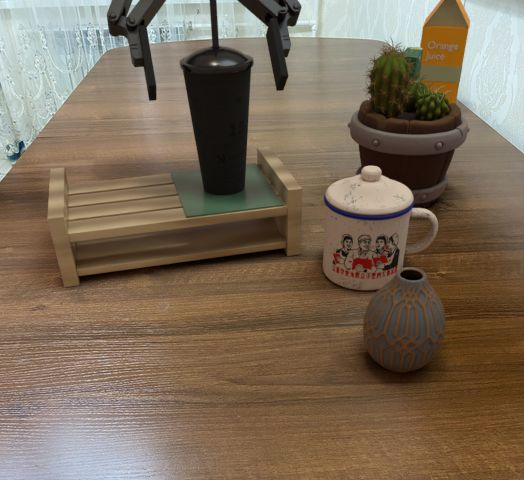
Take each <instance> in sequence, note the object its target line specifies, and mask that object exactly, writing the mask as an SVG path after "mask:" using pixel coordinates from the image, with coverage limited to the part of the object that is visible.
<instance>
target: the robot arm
mask: <svg viewBox="0 0 524 480" xmlns="http://www.w3.org/2000/svg"><path fill="white" fill-rule="evenodd" d="M133 1H134V0H111V2H110V5H109V7H108V10H107V12H106V21H107V31H108V34H109V35H110V36H111V37H115V38H116V37H119V36H122V37H124V38H126V40H127V43H128V49H129V55H130V61H131V64H132V66H133V67H134V68H143V72H144V77H145V85H146V89H147V96H148V101H149V102H151V101H153V102H154V101H157V99H158V98H157V97H158V95H157V81H156V75H155V70H154V63H153V58H152V57H153V56H152V50H151V46H150V39H149V34H148V27H149V25H150V23H151V22H152V21H153V20H154V18H155V16H156V15H157V14H158V13H159V12H160V10H161V8H162V7H163V6H164V4H165V3H166V1H167V0H138V1H137V2H136V4H135V6H134V7H133V8H132V9H131V6H132V3H133ZM237 1H238V3H240V4H241V5H242V7H244V8H245V9H247V10H248V11H249V12H250V13H251V14H252V15H254V16H255V18H256V19H258V20H259V21H260V22H261V23H262V24H264V25H265V26H266V27H267V30H266V32H265V39H266V44H267V48H268V49H267V50H268V53H269V60H270V64H271V69H272V75H273V79H274V86H275V89H276V92H278V91H279V92H281V91H284V90H285V87H286V84H287V81H288V79H289V77H290V75H289V71H288V66H287V60H286V58H288V57H289V54H290V51H291V47H292V42H291V37H290V33H289V27H290V28H293V27H295V26H297V23H298V20H299V17H300V14H301V10H302V4H301V3H300V1H299V0H237ZM130 9H131V11H130ZM129 11H130V12H129Z"/></svg>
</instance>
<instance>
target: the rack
mask: <svg viewBox="0 0 524 480" xmlns="http://www.w3.org/2000/svg"><path fill="white" fill-rule="evenodd" d="M67 178H68V177H67V173H66V168H65V167H56V168H50V169H49V184H48V185H49V187H48V202H47V216H46V217H47V218H46V219H47V223H48V228H49V231H50V235H51V241H52V244H53V247H54V248H53V249H54V252H55V256H56V259H57V264H58V267H59V270H60V276H61V279H62V282H63V287H64V288H69V287H75V286H80V277H82V276H89V275H98V274H104V273H105V274H106V273H112V272H113V273H114V272H120V271H128V270H134V269H140V268H141V269H142V268H149V267H156V266H163V265H170V264H177V263H178V264H179V263H185V262H192V261H193V262H194V261H200V260H208V259H214V258H221V257H229V256H236V255H243V254H250V253H258V252H265V251H273V250H280V249H283V251H284V253H285V254H286V256H287V257H291V256H297V255H298V256H299V255H301V253H302V215H303V214H302V213H303V208H302V207H303V188H302V186H301V185H300V184H299V183H298V181H297V180H296V178H294V176H293V175H292V173H291V172H290V171H289V170H288V168H287V167H286V166H285V165H284V163H283V162H282V161H281V159H280V158H279V156H277V154H276V153H275V152H274V150H273V149H272V148H271V147H270V146H269V145H268V146H259V147H258V146H257V147H256V162H253V163H246V175H245V187H244V189H243V190H242V191H240V192H238V193H235V194H230V195H215V194H211V193H208V192H206V191H205V190H204V188H203V182H202V176H201V171H200V168H199V169H198V168H197V169H189V170H180V171H172V172H171V171H170V173H161V174H153V175H143V176H134V177H133V176H132V177H124V178H123V177H122V178H114V179H106V180H97V181H89V182H79V183H69V182H68V179H67Z"/></svg>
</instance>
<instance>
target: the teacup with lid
mask: <svg viewBox="0 0 524 480" xmlns="http://www.w3.org/2000/svg"><path fill="white" fill-rule="evenodd" d="M381 173H382V171H381V169H380V168H379V167H377V166H366V167H364V168H363V169H362V170H361V174H359V175H356V174H355V175H353V176H350V177H345V178H341V179H339V180H336V181H334V182H333V183H332V184H330V185H329V186H328V188H327V189H326V190H325V194H324V196H323V202H324V204H325V213H324V214H325V216H324V233H323V234H324V236H323V255H322V257H323V258H322V271H323V274H324V275H325V276H326V277H327V279H328V280H330V281H331V282H332V283H334V284H336V285H338V286H340V287H342V288H346V289H350V290H356V291H375V290H376V291H378V290H379V289H380V288H382V287H383V286H384V285H385V284H386V283H388V282H389V281H390V280H391V279H392V278H393V277H394V276H395V274H396V273H397V271H398V270H399V269H401V268H404V260H405V255H412V254H413V255H414V254H417V253H420V252H422V251H425V250H426V249H427V248H428V247H429V246H430V245H432V243H433V242H434V240H435V239H436V236H437V235H438V234H437V233H438V231H439V222H438V218H437V216H436V215H435V214H434V212H432V211H431V210H429V209H427V208H413V206H414V198H413V194H412V192H411V190H410V189H409V188H408V187H407V186H405V185H404V184H402V183H400V182H398V181H395V180H392V179H389V178H387V177H385V176H383V175H381ZM410 218H423V219H426V220H427V221H428V222H430V227H429V229H428V231H427V233H426V234H425V236H424V237H423V238H422V239H421V240H419V241H417V242H416V243H412V244H407V239H408V233H409V227H410V226H409V225H410Z"/></svg>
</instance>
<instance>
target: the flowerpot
mask: <svg viewBox="0 0 524 480" xmlns="http://www.w3.org/2000/svg"><path fill="white" fill-rule="evenodd" d="M389 37H390V40H391V44H390V43H389V41H388V40H385V42H386V43H387V45H385V44H382V45H381V46H382V47H380V51H382V52H379V55H380V56H376V54H377V52H376V53H374V55H373V58H372V57H370V59H369V61H370V62H369V64H373V65H372V66H371V67H370V68H368V66H367V65H366V66H365V67H366V68H367V70H366V72H365V74H362V75H363V77H364V76H365V78H364V80H365V81H364V83H365V88H363V89H362V91H363V92H365V94H366V95H365V96H366V97H365V98H366V99H365V100H363V101H362V102H361V103H360V105H359V109H358V110H356V111H355V112H354V113H353V114H352V115H351V118H350V121H349V122H348V123H347V127H348V129H349V134H350V137H351V139H352V140H353V142H355V143H357V144H358V152H359V153H358V154H359V160H360V167H358V168H357V170H356V173H355V176H356V175H359V174H361V170H362V169H363V168H364V167H366V166H377V167H379V168H380V169H381V171H382V173H381V175H383V176H385V177H387V178H389V179H392V180H395V181H398V182H400V183H402V184H404V185H405V186H407V187H408V188H409V189H410V190H411V192H412V194H413V198H414V206H413V208H423V209H426V208H427V207H429V206H430V205H431V204H434V203H435V202H436V201H437V199H438V198H439V197H440V196H441V195H442V194H443V193H444V191H445V189H446V188H447V186H448V185H449V176H448V174H447V172H448V170H449V168H450V165H451V163H452V161H453V157H454V154H455V151H456V149H458V148H460V147H461V146H462V145H463V144H464V143H465V142H466V139H467V137H468V133H469V132H470V127H469V123H468V121H467V119H466V118H465V117H464V116H463V115H462V111H461V108H460V107H459V105H458V104H457V103H456V104H455V103H449V101H448V100H449V98H450V96H449V98H448V99H447V98H446V97H445V96H446V93H447V92H449V91H447V92H446V93H445V92H444V93H438V92H437V90H439V89H440V88H441V87H440V88H439V89H437V88H436V89H435V90H434V91H433V92H432V88H431V91H430V87H429V86H427V85H426V84H425V83H423V82H421V80H423V79H426V78H423V77H424V76H426V75H424V76H423V77H422V78H421V77H420V78H421V79H420V78H419V77H418V76H417V77H416V76H415V75H414V76H415V79H416V80H415V79H414V80H415V81H413V78H412V77H414V76H412V77H411V76H410V78H411V80H410V79H409V72H410V71H412V70H415V68H414V67H413V66H412V65H413V63H415V62H413V63H410V64H412V65H410V64H409V62H408V60H411V59H408V60H407V59H404V58H406V57H407V56H408V55H407V56H406V55H405V57H404V58H403V56H404V54H406V53H403V52H404V51H405V50H406V47H403V49H402V45H401V44H402V43H403V42H402V41H401V42H399V43H397V44H396V46H394V41H393V39H392V37H391V36H389ZM400 47H401V48H400ZM402 53H403V54H402ZM409 55H410V54H409ZM406 60H407V61H406ZM410 66H411V67H413V68H411V67H410ZM417 70H418V69H417ZM412 72H413V71H412ZM418 73H419V72H418ZM413 74H414V73H413ZM415 74H416V73H415ZM410 75H411V74H410ZM417 75H419V74H417ZM417 78H419V81H417ZM368 79H369V80H368ZM367 82H368V83H369V84H368V83H367ZM428 82H429V81H428ZM433 83H434V82H433ZM433 83H432V84H433ZM432 84H431V85H432ZM431 85H430V86H431ZM432 87H433V86H432ZM442 87H443V86H442ZM434 88H435V87H434ZM369 95H370V96H369ZM368 98H369V99H368Z"/></svg>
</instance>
